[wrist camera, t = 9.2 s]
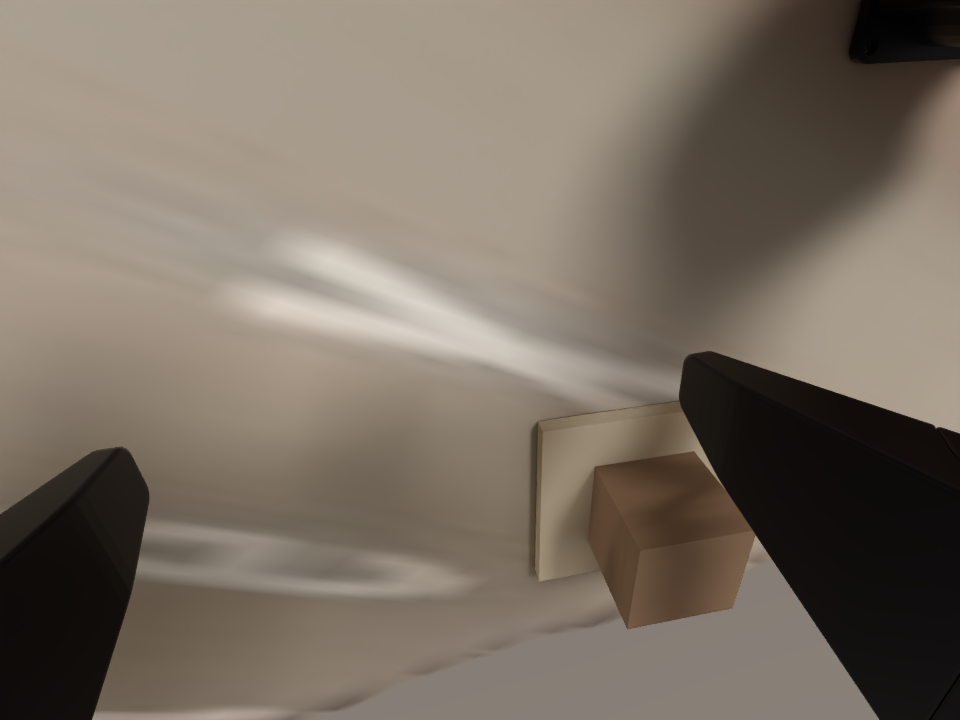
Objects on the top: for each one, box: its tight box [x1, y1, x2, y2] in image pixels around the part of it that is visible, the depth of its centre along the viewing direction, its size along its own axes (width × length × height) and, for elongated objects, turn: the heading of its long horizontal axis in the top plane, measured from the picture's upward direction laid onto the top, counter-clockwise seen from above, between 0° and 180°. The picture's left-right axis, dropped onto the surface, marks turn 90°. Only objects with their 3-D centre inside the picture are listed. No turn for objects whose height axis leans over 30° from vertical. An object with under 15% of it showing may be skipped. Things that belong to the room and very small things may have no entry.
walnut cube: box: [588, 451, 755, 629], centre depth 26 cm, size 5×5×5 cm
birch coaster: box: [535, 401, 727, 582], centre depth 28 cm, size 10×10×1 cm
